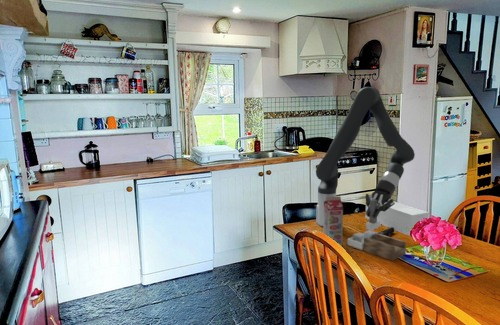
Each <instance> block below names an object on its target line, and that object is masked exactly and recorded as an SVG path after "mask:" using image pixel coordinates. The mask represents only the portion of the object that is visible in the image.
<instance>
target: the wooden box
mask: <svg viewBox="0 0 500 325" xmlns="http://www.w3.org/2000/svg"><path fill="white" fill-rule="evenodd" d="M363 251H364V252H366V253H370V254H372V255H376V256H377V257H381V258H384V259H386V260H389V261H395V260H397V259H399V258H401V257H403V256H405V255H406V253H407V241H406V240H402V239H399V238H395V237H391V236H385V235H382V234H377V241H375V240H371V239H368V238H364V250H363Z"/></svg>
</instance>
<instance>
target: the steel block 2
mask: <svg viewBox="0 0 500 325" xmlns="http://www.w3.org/2000/svg"><path fill="white" fill-rule="evenodd" d="M378 233H379V232H377V231H374V230H369V229H367V230H365V231H364V232H363V234H364V238H368V239H371V240H375V241H377V234H378Z"/></svg>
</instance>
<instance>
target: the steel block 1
mask: <svg viewBox="0 0 500 325" xmlns="http://www.w3.org/2000/svg"><path fill="white" fill-rule="evenodd" d="M352 237H353V240H354V241H357V242H360V243H364V233H363V232H362V233H361V232H356V233H354V234H352Z"/></svg>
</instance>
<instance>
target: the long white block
mask: <svg viewBox="0 0 500 325" xmlns="http://www.w3.org/2000/svg"><path fill="white" fill-rule="evenodd" d="M386 203H387V202H386ZM394 203H395V204H394V205H393V206H391V207H390V208H389V209H387V210H386V211H385V212H383V211H381V212H379V214H378V216H377V220H378V221H380V225H381V224H382V225H381V226H383V227H387V228H388V227H389V228H391V227H393V228H394V231H396V232H399V233H401V234H403V235H405V236H409V237H411V236H410V231H411V230H412V228H413V227H414V225H415V224H416V223H417V222H418V221H420V220H422V219H423V218H429V217H430V212H428V211H425V210H423V209H419V208H416V207H412V206H410V205H407V204H403V203H399V202H396V201H394ZM377 205H378V204H377ZM367 209H368V207H367V205H366V204H365V212H366V211H367ZM364 218H365V219H366V218H367V220H369V217H368V216H367V215H366V214H365V217H364ZM389 228H388V229H389Z"/></svg>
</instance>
